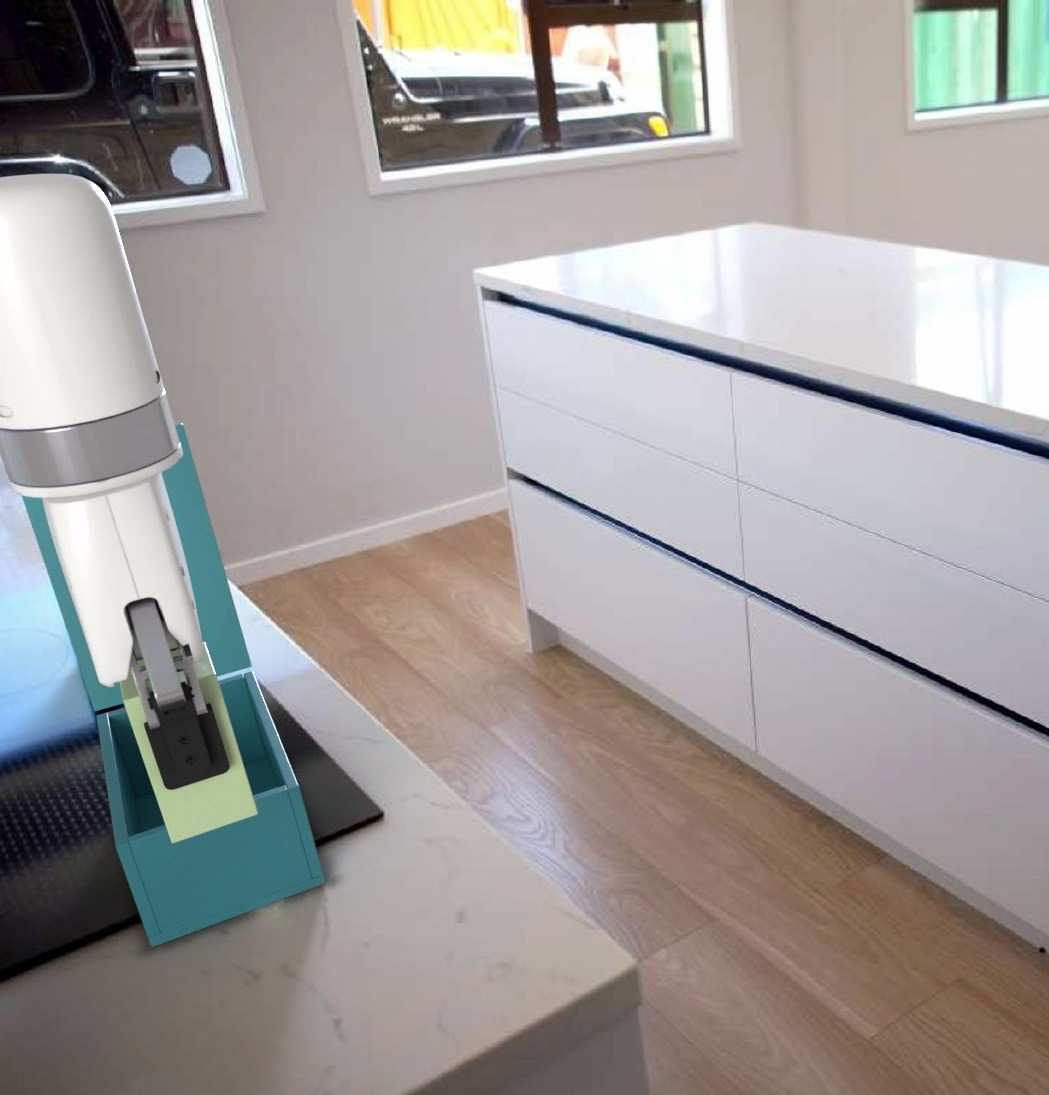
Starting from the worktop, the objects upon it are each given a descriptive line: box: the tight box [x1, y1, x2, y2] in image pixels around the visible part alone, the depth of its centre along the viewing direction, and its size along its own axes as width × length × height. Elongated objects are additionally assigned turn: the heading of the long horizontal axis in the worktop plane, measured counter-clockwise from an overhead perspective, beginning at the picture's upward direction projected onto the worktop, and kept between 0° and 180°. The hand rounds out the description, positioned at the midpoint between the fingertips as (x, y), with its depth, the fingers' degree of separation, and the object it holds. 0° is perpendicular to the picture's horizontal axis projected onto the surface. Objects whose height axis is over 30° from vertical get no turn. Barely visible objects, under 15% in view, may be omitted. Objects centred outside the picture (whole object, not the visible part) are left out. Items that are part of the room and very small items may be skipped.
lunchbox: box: [96, 670, 326, 948], centre depth 85 cm, size 18×10×8 cm, turn 31°
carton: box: [120, 642, 258, 843], centre depth 68 cm, size 4×4×9 cm
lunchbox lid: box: [21, 422, 253, 712], centre depth 88 cm, size 18×10×5 cm
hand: (191, 753), depth 68 cm, fingers closed on carton, 4 cm apart
